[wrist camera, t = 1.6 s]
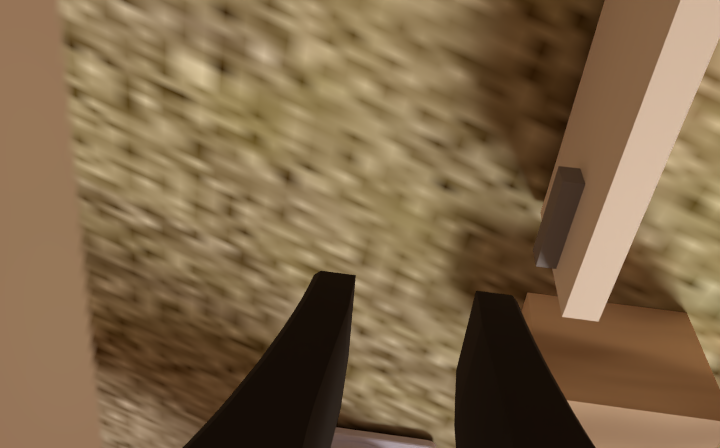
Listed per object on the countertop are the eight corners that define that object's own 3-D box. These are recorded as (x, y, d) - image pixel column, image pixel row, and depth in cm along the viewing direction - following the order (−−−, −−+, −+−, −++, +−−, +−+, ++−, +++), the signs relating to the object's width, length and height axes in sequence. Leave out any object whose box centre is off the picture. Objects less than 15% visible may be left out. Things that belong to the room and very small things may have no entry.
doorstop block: (653, 372, 26) (691, 484, 22) (507, 352, 26) (518, 459, 22) (686, 311, 24) (734, 422, 20) (527, 291, 24) (542, 396, 20)
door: (629, -168, 15) (696, -141, 11) (697, -162, 15) (791, -132, 11) (523, 210, 21) (540, 313, 17) (570, 216, 21) (598, 321, 17)
